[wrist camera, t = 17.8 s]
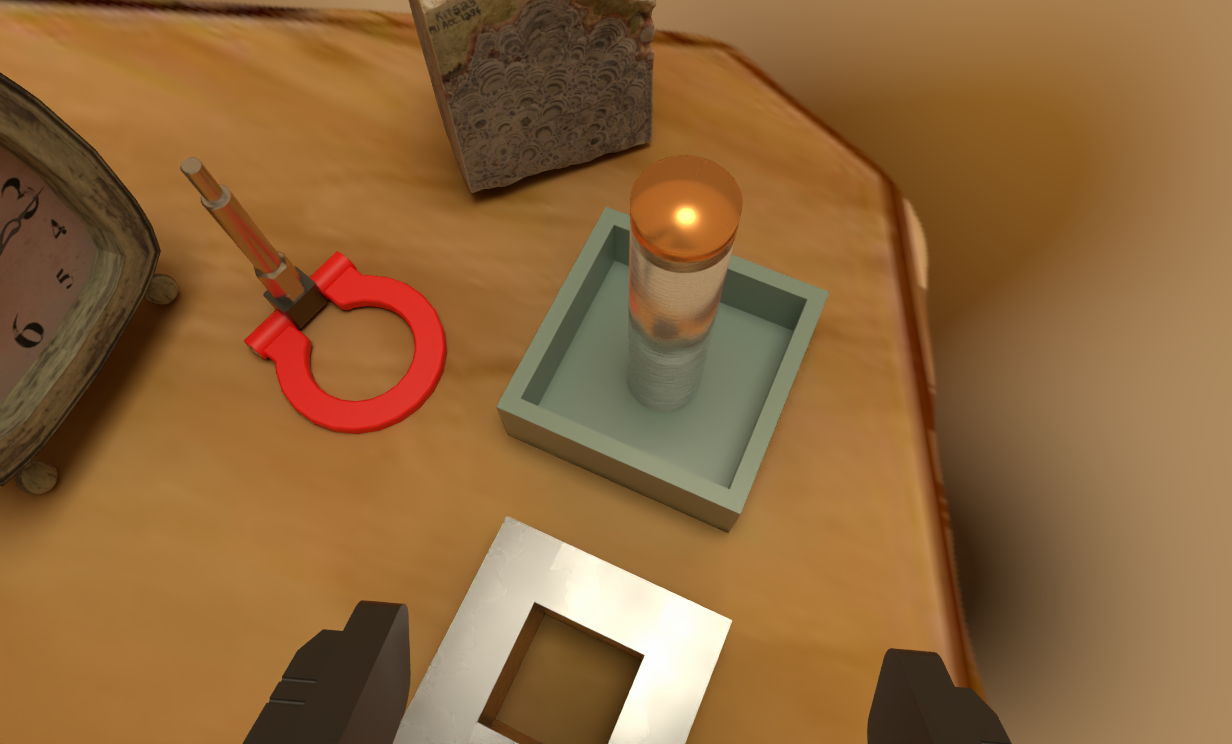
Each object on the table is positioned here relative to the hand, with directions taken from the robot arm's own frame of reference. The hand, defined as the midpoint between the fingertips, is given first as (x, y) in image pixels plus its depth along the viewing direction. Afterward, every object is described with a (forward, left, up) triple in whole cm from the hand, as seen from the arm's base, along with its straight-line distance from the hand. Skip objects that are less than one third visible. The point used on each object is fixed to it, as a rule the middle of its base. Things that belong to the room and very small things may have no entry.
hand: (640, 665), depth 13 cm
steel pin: (+14, +4, -22) cm, 26 cm away
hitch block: (-1, +2, -23) cm, 23 cm away
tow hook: (+9, +19, -23) cm, 31 cm away
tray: (+14, +4, -23) cm, 27 cm away
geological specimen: (+25, +16, -23) cm, 38 cm away
